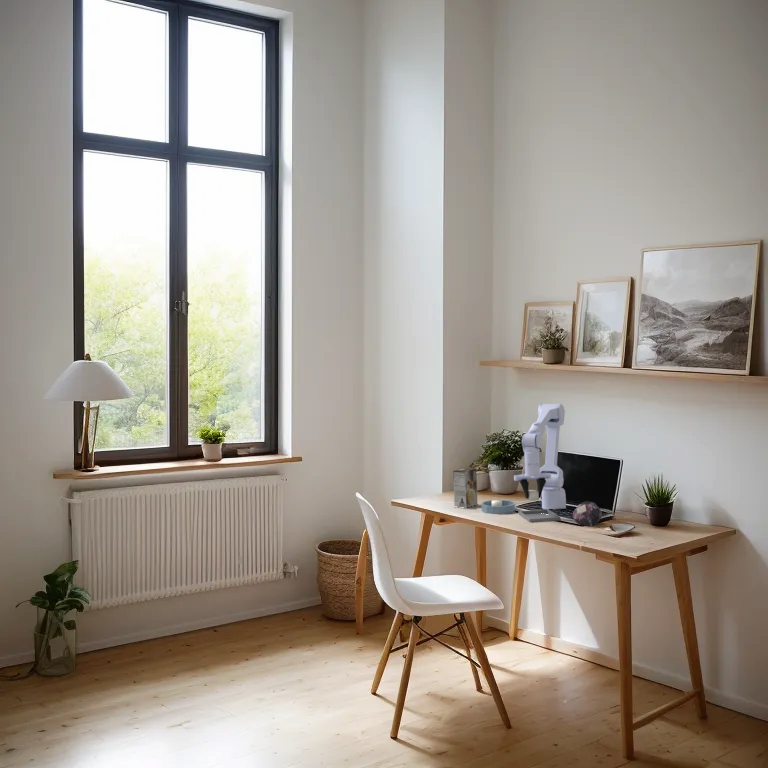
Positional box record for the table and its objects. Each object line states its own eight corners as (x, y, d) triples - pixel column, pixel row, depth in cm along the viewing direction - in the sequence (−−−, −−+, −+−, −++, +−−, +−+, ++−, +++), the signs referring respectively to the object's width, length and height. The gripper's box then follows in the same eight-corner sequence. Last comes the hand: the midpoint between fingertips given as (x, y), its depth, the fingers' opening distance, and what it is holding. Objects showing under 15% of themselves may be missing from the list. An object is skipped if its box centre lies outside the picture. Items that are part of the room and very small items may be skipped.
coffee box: (465, 503, 380) (464, 467, 379) (477, 505, 376) (476, 468, 375) (454, 507, 373) (452, 470, 372) (466, 508, 369) (465, 471, 368)
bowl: (510, 508, 366) (510, 499, 366) (519, 515, 353) (519, 505, 352) (478, 510, 365) (478, 501, 364) (486, 517, 351) (486, 507, 351)
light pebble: (500, 507, 364) (499, 499, 363) (503, 509, 359) (503, 501, 359) (490, 508, 363) (489, 500, 362) (493, 510, 358) (493, 502, 358)
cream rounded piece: (536, 498, 345) (536, 489, 345) (540, 500, 341) (540, 491, 340) (526, 498, 344) (525, 490, 344) (529, 500, 340) (529, 492, 340)
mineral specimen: (565, 520, 332) (574, 495, 333) (589, 528, 334) (598, 504, 335) (576, 524, 323) (585, 499, 323) (600, 533, 325) (609, 508, 325)
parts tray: (548, 514, 352) (548, 509, 351) (560, 522, 336) (560, 517, 336) (518, 516, 350) (518, 511, 350) (529, 524, 335) (529, 519, 335)
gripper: (517, 466, 337) (518, 500, 338) (553, 464, 339) (554, 498, 339) (512, 463, 344) (513, 497, 345) (547, 461, 346) (548, 495, 346)
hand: (533, 497), depth 342 cm, fingers closed on cream rounded piece, 4 cm apart
